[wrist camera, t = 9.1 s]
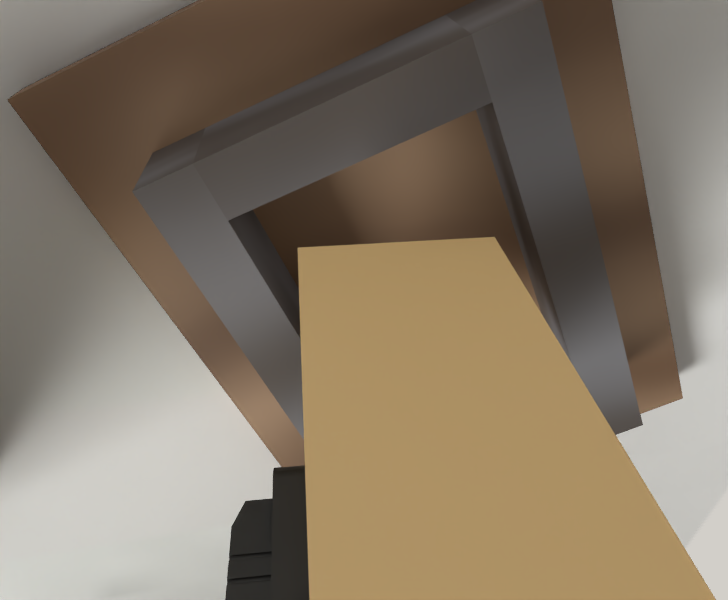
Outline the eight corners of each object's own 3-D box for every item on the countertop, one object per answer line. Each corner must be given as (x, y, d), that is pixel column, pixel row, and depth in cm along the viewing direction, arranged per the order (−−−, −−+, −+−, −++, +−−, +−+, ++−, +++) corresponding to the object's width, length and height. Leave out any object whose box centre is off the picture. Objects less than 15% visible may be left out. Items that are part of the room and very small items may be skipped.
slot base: (668, 380, 23) (723, 449, 20) (326, 507, 25) (332, 587, 22) (560, -182, 14) (634, -204, 11) (22, 88, 16) (-40, 133, 13)
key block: (494, 236, 13) (888, 882, 4) (466, 473, 17) (648, 1060, 8) (297, 247, 12) (321, 967, 4) (314, 487, 16) (345, 1114, 8)
